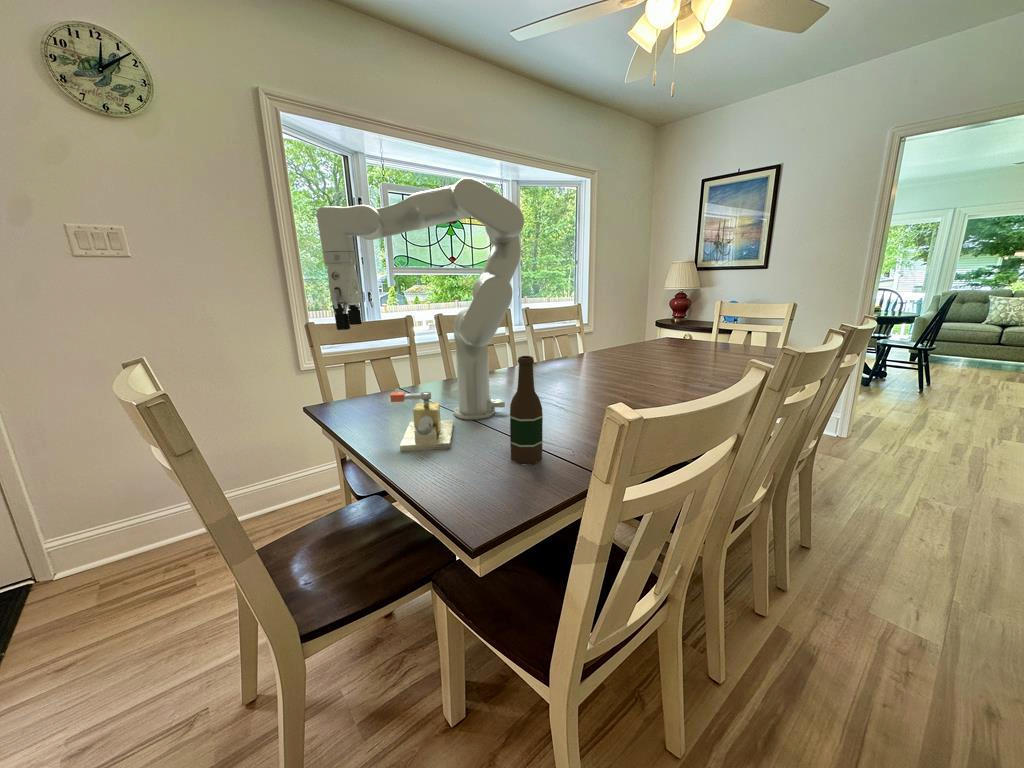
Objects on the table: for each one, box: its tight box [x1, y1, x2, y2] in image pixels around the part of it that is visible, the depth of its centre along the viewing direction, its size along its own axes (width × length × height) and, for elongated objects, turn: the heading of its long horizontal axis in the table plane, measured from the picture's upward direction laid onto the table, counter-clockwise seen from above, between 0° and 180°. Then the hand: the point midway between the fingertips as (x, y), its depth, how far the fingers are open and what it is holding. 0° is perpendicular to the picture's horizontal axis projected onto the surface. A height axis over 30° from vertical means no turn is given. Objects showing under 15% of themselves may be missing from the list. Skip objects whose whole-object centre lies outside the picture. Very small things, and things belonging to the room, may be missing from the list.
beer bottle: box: [509, 355, 544, 465], centre depth 89 cm, size 8×8×24 cm
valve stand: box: [399, 399, 454, 452], centre depth 103 cm, size 12×16×10 cm
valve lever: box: [389, 391, 432, 403], centre depth 101 cm, size 10×3×2 cm, turn 95°
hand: (350, 326), depth 106 cm, fingers open, 9 cm apart
